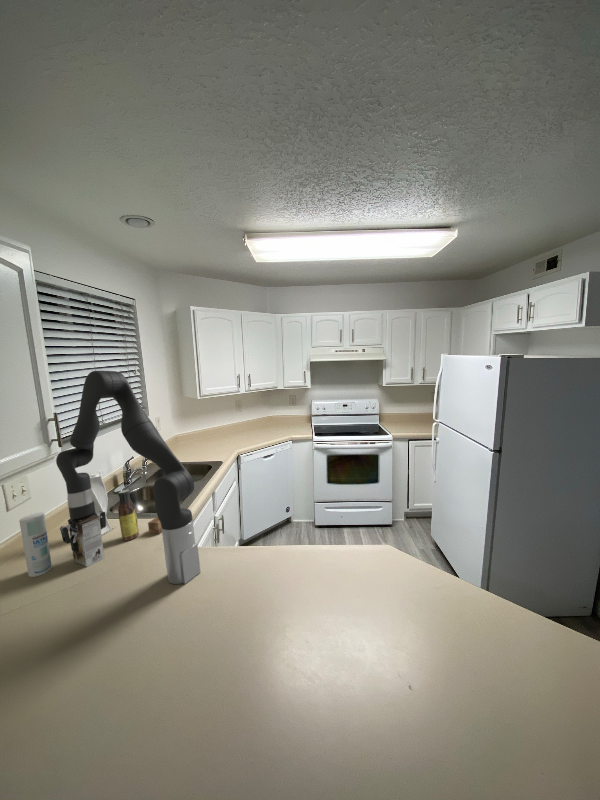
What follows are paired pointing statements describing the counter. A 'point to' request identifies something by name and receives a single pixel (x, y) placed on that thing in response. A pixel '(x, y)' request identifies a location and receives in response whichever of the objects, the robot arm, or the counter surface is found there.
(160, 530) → the walnut block
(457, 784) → the counter surface
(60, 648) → the counter surface
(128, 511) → the sauce bottle
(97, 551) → the coffee box
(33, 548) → the spray can
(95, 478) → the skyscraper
